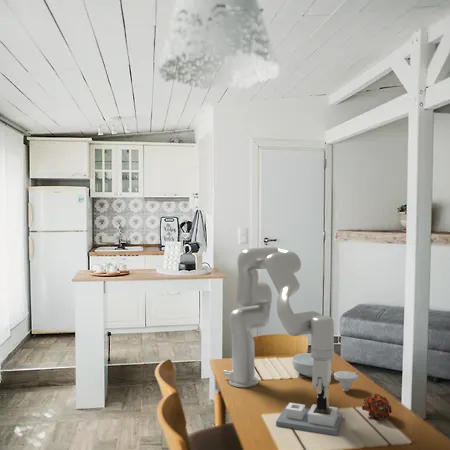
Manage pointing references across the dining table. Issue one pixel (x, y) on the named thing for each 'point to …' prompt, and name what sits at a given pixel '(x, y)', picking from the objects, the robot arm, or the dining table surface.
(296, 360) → the cereal bowl
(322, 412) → the gold rounded cylinder
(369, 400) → the dragon fruit
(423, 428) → the dining table surface
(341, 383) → the showerhead
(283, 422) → the socket board
